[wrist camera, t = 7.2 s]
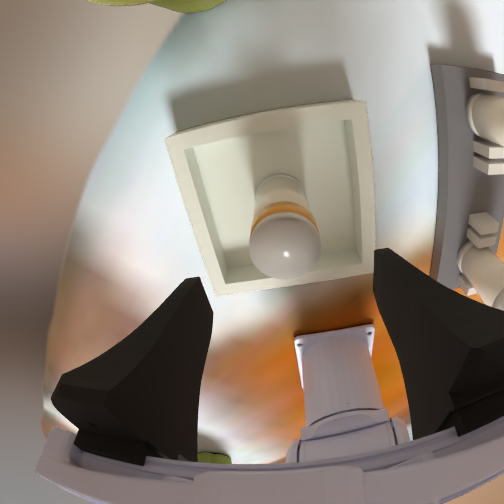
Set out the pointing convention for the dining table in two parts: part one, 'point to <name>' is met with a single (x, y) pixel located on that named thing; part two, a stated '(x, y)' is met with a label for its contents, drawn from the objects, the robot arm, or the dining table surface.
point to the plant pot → (167, 4)
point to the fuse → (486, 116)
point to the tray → (273, 162)
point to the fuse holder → (465, 174)
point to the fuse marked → (283, 229)
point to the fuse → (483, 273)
